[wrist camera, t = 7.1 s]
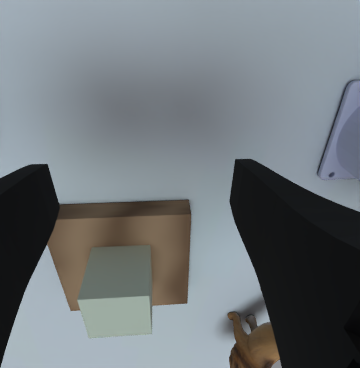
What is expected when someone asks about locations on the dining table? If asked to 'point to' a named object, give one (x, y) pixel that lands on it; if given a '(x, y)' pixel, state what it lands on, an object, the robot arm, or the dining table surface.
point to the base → (125, 243)
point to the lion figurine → (253, 344)
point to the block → (117, 292)
